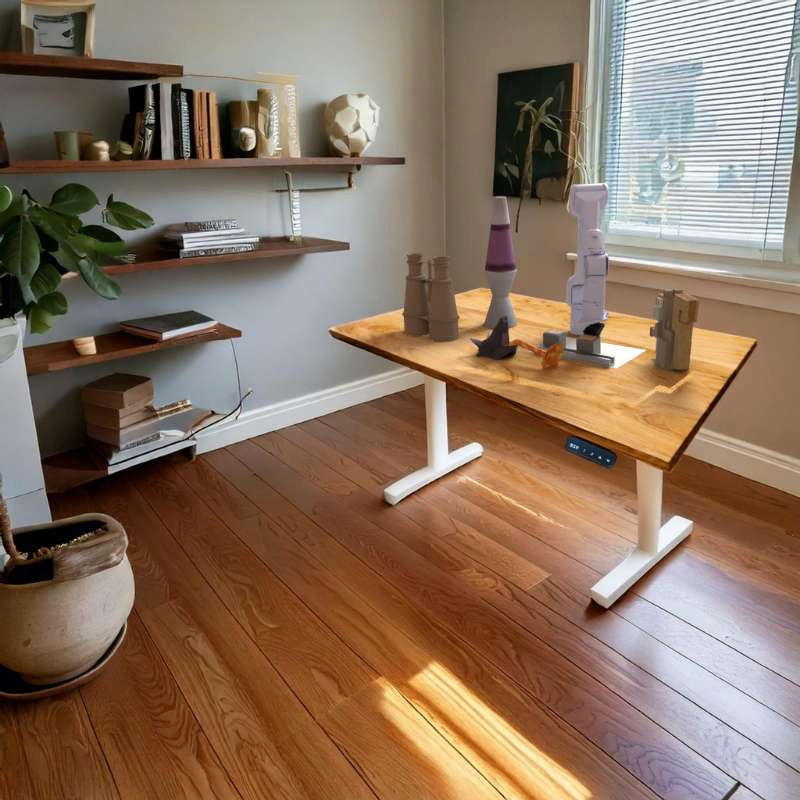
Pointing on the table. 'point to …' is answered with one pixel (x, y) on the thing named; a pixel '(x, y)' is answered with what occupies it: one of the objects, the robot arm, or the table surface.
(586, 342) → the block
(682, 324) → the toy
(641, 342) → the table surface
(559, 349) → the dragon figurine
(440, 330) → the binoculars
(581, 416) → the table surface
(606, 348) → the panel
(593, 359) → the rail
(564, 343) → the mounted module
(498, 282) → the lamp
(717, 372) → the table surface
